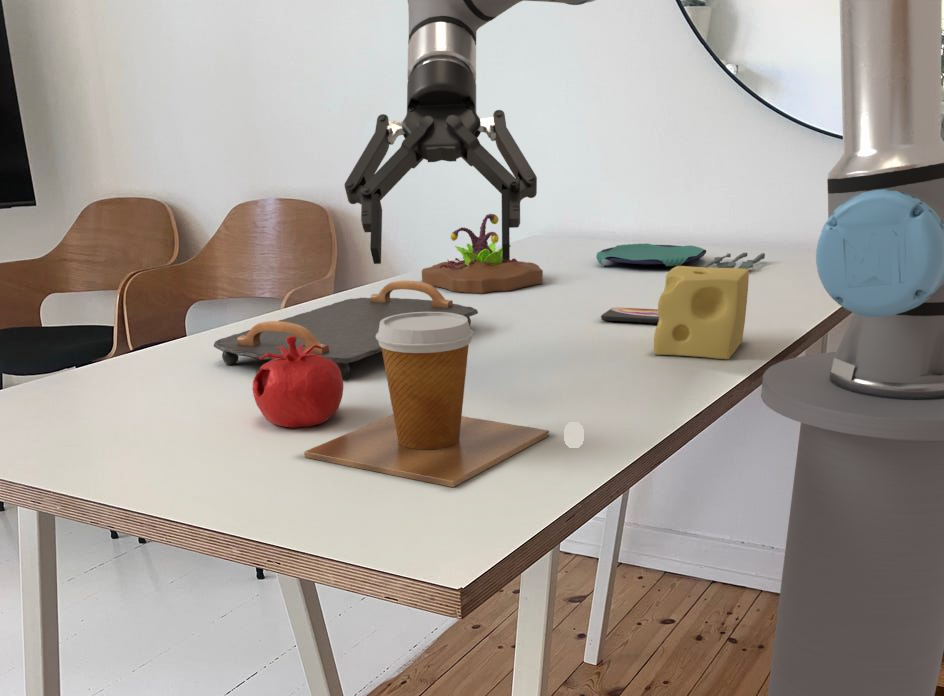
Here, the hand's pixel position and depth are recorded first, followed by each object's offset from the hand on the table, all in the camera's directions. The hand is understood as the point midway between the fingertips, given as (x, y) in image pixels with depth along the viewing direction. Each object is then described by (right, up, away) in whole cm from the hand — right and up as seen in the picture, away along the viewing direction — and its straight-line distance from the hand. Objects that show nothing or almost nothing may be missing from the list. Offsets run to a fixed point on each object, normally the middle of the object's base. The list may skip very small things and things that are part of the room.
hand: (440, 254), depth 114 cm
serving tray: (-13, +1, +39) cm, 41 cm away
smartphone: (+31, +7, +49) cm, 58 cm away
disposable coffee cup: (-1, -20, -2) cm, 20 cm away
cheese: (+34, -2, +32) cm, 47 cm away
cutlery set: (+42, +30, +92) cm, 106 cm away
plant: (+6, +23, +81) cm, 84 cm away
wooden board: (-1, -20, -2) cm, 20 cm away
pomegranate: (-16, -16, +8) cm, 24 cm away
